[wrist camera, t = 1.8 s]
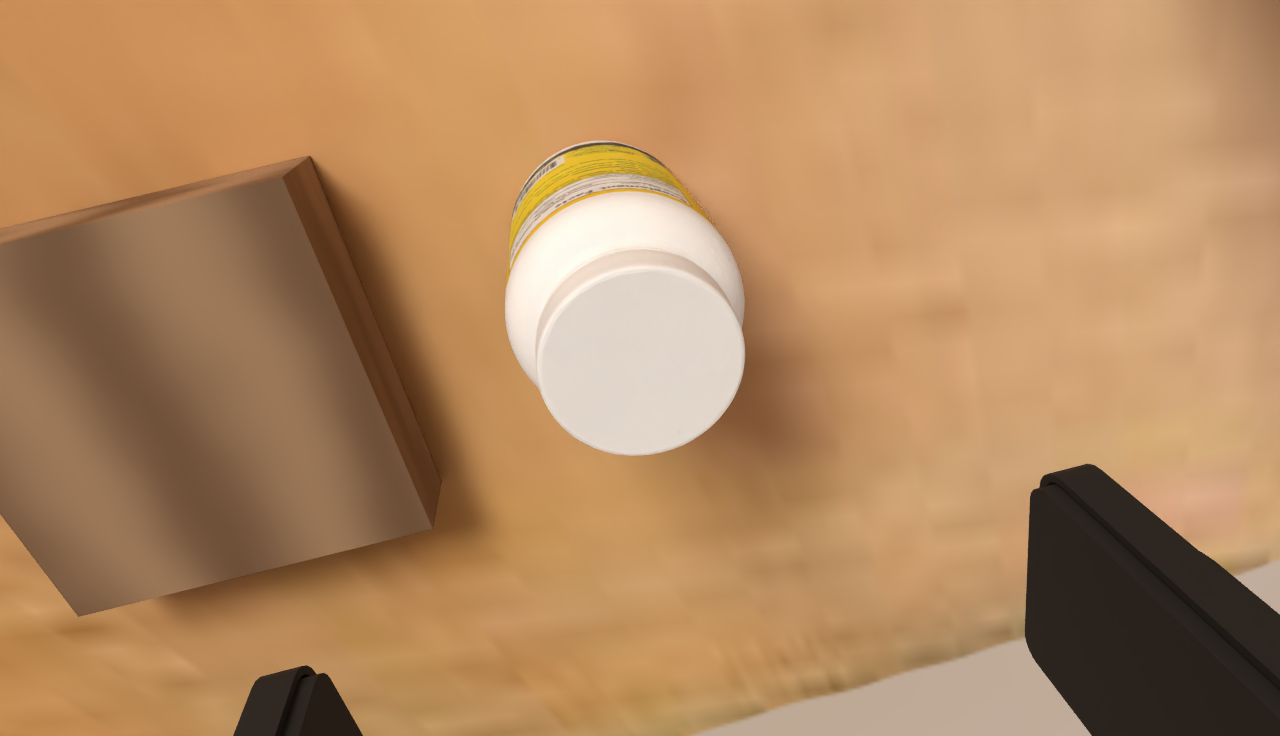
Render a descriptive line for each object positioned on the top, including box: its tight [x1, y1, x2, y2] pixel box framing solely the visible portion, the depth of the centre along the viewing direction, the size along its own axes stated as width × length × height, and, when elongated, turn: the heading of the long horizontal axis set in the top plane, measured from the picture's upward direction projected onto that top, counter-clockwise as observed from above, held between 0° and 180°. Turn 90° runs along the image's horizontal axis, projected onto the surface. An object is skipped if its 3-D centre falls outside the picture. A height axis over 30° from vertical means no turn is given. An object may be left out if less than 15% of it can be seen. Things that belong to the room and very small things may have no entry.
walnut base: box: [0, 156, 441, 617], centre depth 26 cm, size 13×13×3 cm
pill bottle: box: [505, 140, 745, 456], centre depth 22 cm, size 6×6×11 cm
